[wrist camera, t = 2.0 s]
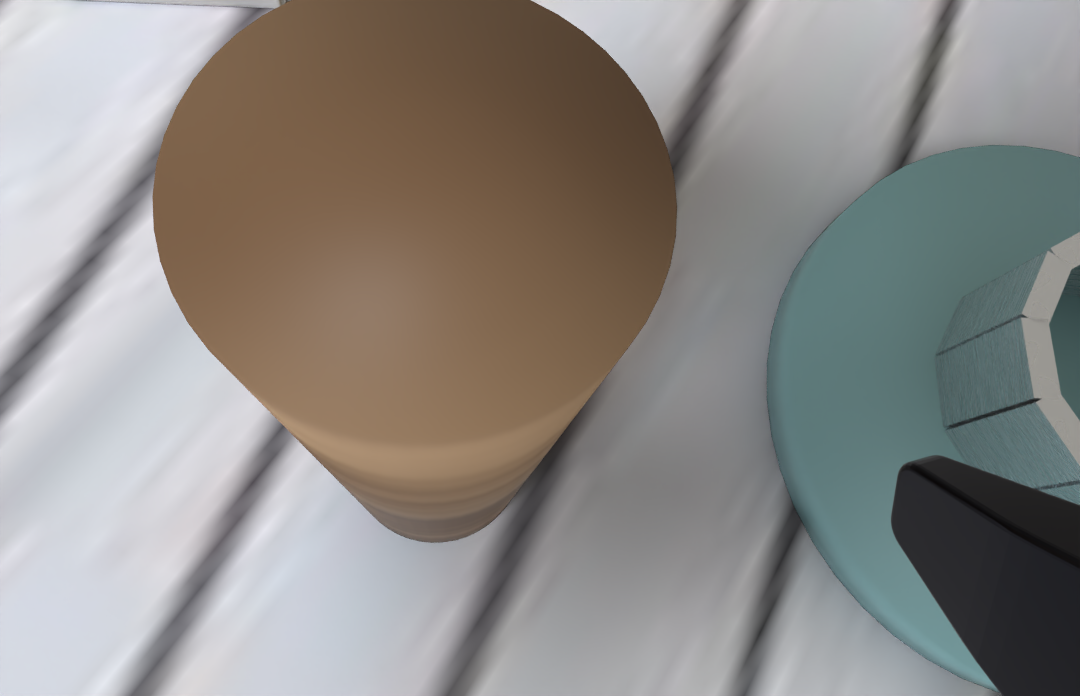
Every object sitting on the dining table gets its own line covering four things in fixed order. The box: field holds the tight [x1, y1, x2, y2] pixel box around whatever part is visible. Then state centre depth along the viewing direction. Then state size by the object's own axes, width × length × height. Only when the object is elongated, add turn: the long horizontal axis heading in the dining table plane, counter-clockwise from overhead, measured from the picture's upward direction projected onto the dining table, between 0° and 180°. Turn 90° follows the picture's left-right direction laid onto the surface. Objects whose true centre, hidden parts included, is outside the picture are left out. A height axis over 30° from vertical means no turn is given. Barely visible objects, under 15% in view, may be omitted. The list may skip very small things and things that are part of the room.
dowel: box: [153, 0, 677, 543], centre depth 12 cm, size 4×4×13 cm
